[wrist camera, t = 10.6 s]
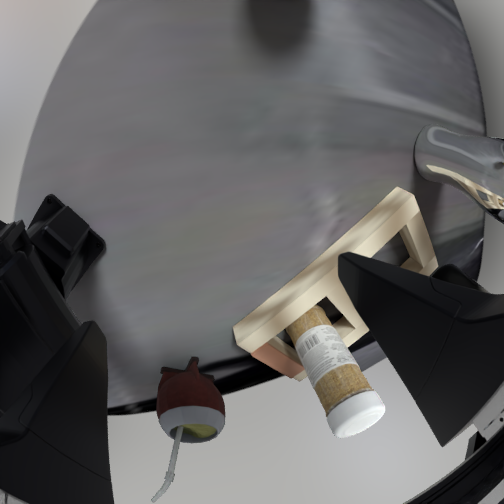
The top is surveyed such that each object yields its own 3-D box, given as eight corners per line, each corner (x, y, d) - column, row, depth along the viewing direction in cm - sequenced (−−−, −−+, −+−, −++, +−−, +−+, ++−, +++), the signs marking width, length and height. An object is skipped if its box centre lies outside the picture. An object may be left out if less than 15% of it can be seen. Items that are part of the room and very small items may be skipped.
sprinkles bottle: (297, 340, 30) (345, 442, 19) (276, 320, 28) (325, 435, 16) (330, 317, 30) (392, 414, 18) (313, 294, 27) (381, 402, 16)
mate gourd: (226, 359, 29) (257, 486, 16) (205, 396, 32) (223, 504, 19) (160, 347, 27) (164, 487, 14) (147, 387, 29) (150, 502, 16)
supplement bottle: (427, 310, 35) (476, 364, 24) (418, 287, 31) (477, 346, 21) (457, 279, 33) (509, 326, 23) (452, 252, 30) (514, 302, 20)
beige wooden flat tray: (293, 366, 32) (300, 383, 30) (232, 326, 27) (237, 347, 25) (425, 255, 29) (440, 267, 26) (396, 186, 24) (415, 195, 21)
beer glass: (456, 168, 24) (562, 222, 11) (418, 195, 25) (534, 267, 12) (444, 111, 21) (568, 148, 8) (403, 133, 21) (547, 184, 8)
